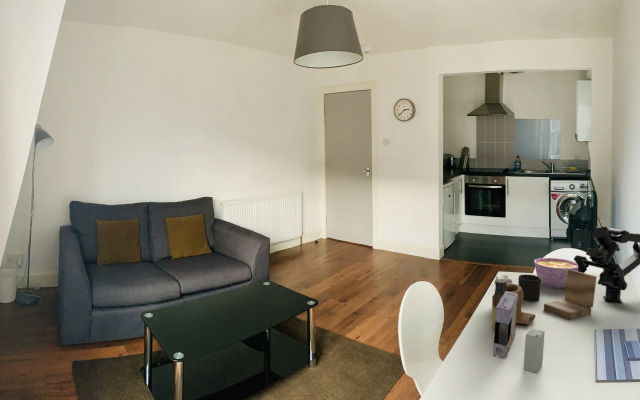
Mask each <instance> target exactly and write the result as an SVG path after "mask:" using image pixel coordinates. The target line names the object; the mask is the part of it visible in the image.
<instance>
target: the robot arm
mask: <svg viewBox="0 0 640 400" xmlns="http://www.w3.org/2000/svg"><path fill="white" fill-rule="evenodd" d="M592 237H593V239H594V240H595V242H596V243H597V245H599V246H600V247H599V248H598V249H597V248H592V247H588V248H587V250H586V252H585V255H586V256H583V255H579V254H577V255H575V256H574V258H573V260H574V262H576V263H577V265H578V272H581V273H585V274H586V272H587V270H588V269H587V268H589V267H590V266H591V267H595V268H599V269H603V270H602V271H601V272H600V274H599V279H598V281H597V284H598V285H600V286H603V287H605V293H604V295H603V296H602V298H603V300H604V302H606V303H614V304H623V301H622V299H621V295H622V291H625V290H626V289H627V287H628V283H627V282H626V280H625V277H626V276H627V275H628V274H629V273H631V272H632V271H633V270H635V269H636V268H637V267H638V266H640V244H639V243H640V233H633V232H629V231H627V230H626V229H618V228H612V227H609V228H608V227H607V226H601V227H598V228H597V229H595V230H593V232H592ZM628 242H633V245H632V249H633V254H631V255H630V256H629V257H627V258H626V259H625V260H623V261H622V262H620V263H619V264H618V263H614V262H613V256H614V255H615V253H616V252H620V251H621V249H620V245H619V244H618V243H620V244H626V243H628ZM587 256H589V257H588V258H589V259H588V258H587Z"/></svg>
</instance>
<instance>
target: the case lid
mask: <svg viewBox="0 0 640 400" xmlns="http://www.w3.org/2000/svg"><path fill="white" fill-rule="evenodd" d="M597 279H598V278H597V275H593V274H588V273H586V272H585V273H581V272H578V271H574V270H570V269H568V274H567V282H566V287H565V292H564V293H565V294H564V299H567V300H570V301H573V302H576V303H579V304H582V305H585V306H588V307H591V309H592V308H594V303H595V293H596V285H597V284H596V283H597Z"/></svg>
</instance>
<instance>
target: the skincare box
mask: <svg viewBox="0 0 640 400" xmlns="http://www.w3.org/2000/svg"><path fill="white" fill-rule="evenodd" d="M544 345H545V331H544V330H541V329H536V328H529V330H528V331H527V332H526V334H525V341H524V353H523V355H524V356H523V371H526V372H528V373H529V372H530V373H533V374H538V373H539V371H540V370H541V368H543V361H544V360H543V358H544V348H545V347H544Z"/></svg>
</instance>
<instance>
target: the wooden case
mask: <svg viewBox="0 0 640 400" xmlns="http://www.w3.org/2000/svg"><path fill="white" fill-rule="evenodd" d="M543 311H544V312H547V313H550V314H552V315H555V316H558V317H560V318H562V319H566V320H569V321H572V320H575V319H580V318H584V317H587V316H591V315H592V308H591V307H588V306H585V305H582V304H579V303H576V302H573V301H570V300H567V299H565V298H561V299H558V300H553V301H548V302H545V303H543Z"/></svg>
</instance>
